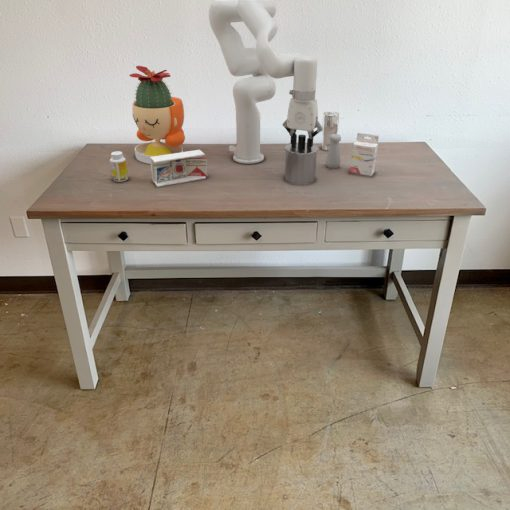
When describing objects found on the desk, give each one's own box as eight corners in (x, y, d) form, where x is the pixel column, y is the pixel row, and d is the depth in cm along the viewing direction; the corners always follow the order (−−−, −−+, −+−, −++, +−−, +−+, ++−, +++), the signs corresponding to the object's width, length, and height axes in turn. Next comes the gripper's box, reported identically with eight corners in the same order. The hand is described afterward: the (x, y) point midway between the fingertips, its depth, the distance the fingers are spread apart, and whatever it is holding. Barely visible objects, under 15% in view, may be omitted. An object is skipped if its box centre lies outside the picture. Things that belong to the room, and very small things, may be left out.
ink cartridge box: (349, 173, 183) (353, 135, 176) (352, 169, 187) (356, 132, 179) (371, 177, 180) (376, 138, 172) (374, 173, 184) (379, 135, 176)
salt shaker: (339, 170, 186) (342, 137, 179) (324, 169, 187) (327, 136, 180) (340, 165, 191) (343, 133, 184) (325, 164, 192) (328, 132, 185)
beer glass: (337, 151, 205) (340, 115, 198) (321, 151, 205) (323, 115, 198) (335, 145, 211) (338, 111, 204) (319, 145, 211) (322, 111, 204)
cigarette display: (156, 187, 172) (153, 161, 167) (152, 181, 177) (149, 156, 172) (209, 177, 180) (208, 153, 175) (204, 172, 184) (202, 149, 179)
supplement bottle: (130, 176, 180) (126, 150, 175) (126, 182, 176) (122, 155, 170) (115, 176, 181) (111, 150, 175) (111, 182, 176) (106, 155, 170)
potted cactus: (166, 168, 188) (157, 73, 170) (124, 157, 198) (111, 67, 180) (199, 152, 204) (194, 64, 186) (159, 143, 214) (151, 59, 196)
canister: (280, 181, 176) (281, 151, 170) (291, 172, 185) (293, 142, 179) (308, 187, 172) (310, 156, 166) (318, 176, 181) (321, 147, 175)
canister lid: (279, 153, 171) (279, 137, 168) (292, 143, 180) (292, 128, 177) (311, 158, 166) (312, 142, 163) (322, 148, 175) (323, 133, 172)
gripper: (276, 95, 163) (275, 147, 173) (324, 100, 157) (320, 154, 166) (285, 90, 169) (283, 141, 178) (331, 95, 163) (327, 147, 172)
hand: (301, 146), depth 172 cm, fingers open, 5 cm apart
